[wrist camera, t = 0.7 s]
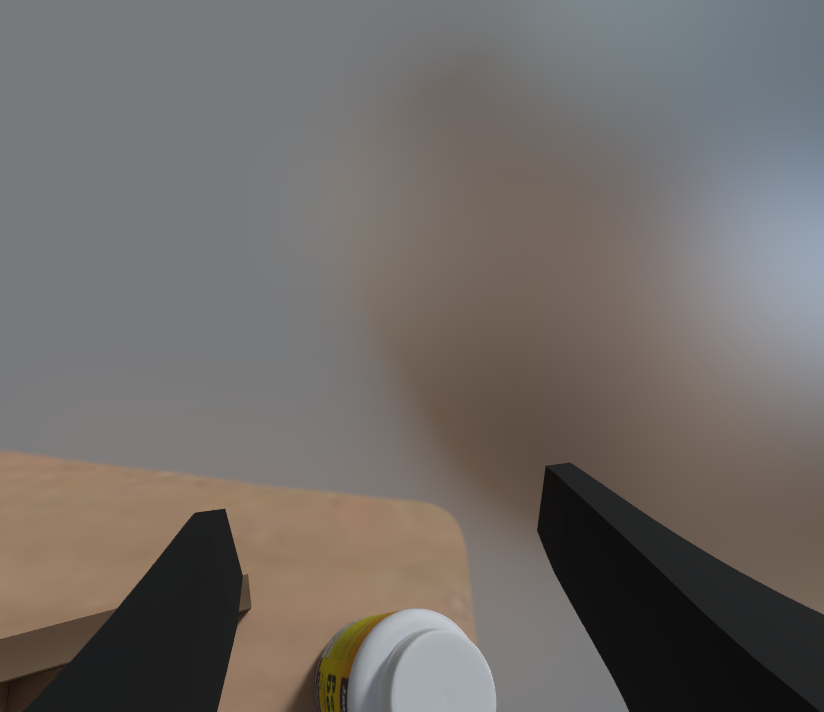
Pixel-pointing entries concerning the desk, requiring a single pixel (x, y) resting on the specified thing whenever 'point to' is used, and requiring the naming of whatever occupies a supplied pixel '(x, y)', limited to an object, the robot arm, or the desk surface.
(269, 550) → the desk surface
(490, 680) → the supplement bottle
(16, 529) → the desk surface
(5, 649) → the wooden u-shaped block
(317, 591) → the desk surface
